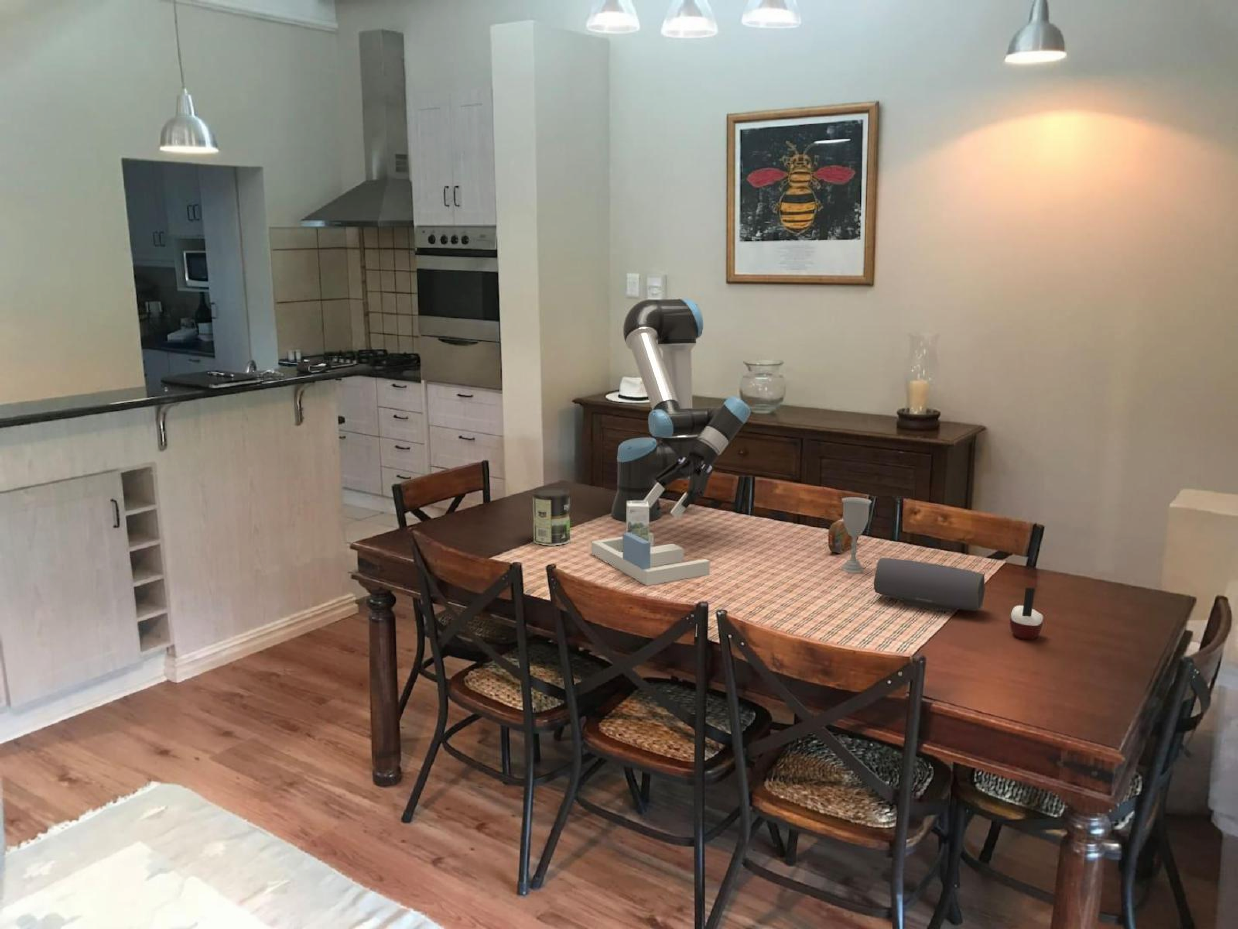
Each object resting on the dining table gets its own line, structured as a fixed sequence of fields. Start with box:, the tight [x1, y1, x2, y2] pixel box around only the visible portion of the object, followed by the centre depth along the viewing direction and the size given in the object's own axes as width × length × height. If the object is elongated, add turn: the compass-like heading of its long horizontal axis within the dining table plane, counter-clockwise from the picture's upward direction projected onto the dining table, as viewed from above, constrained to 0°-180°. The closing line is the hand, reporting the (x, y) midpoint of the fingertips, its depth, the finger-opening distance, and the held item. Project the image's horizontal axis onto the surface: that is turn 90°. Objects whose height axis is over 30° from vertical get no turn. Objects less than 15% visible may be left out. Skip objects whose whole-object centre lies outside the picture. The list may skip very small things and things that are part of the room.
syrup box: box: [625, 501, 650, 542], centre depth 259 cm, size 6×6×14 cm
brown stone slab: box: [827, 517, 859, 554], centre depth 266 cm, size 15×3×8 cm, turn 143°
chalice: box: [841, 496, 872, 574], centre depth 248 cm, size 7×7×18 cm
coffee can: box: [532, 487, 571, 547], centre depth 272 cm, size 10×10×14 cm
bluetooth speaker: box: [873, 557, 986, 612], centre depth 223 cm, size 23×9×10 cm, turn 59°
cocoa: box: [1009, 587, 1044, 641], centre depth 205 cm, size 10×6×12 cm, turn 137°
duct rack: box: [590, 532, 711, 587], centre depth 252 cm, size 29×18×10 cm, turn 29°
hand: (659, 510), depth 259 cm, fingers open, 13 cm apart
